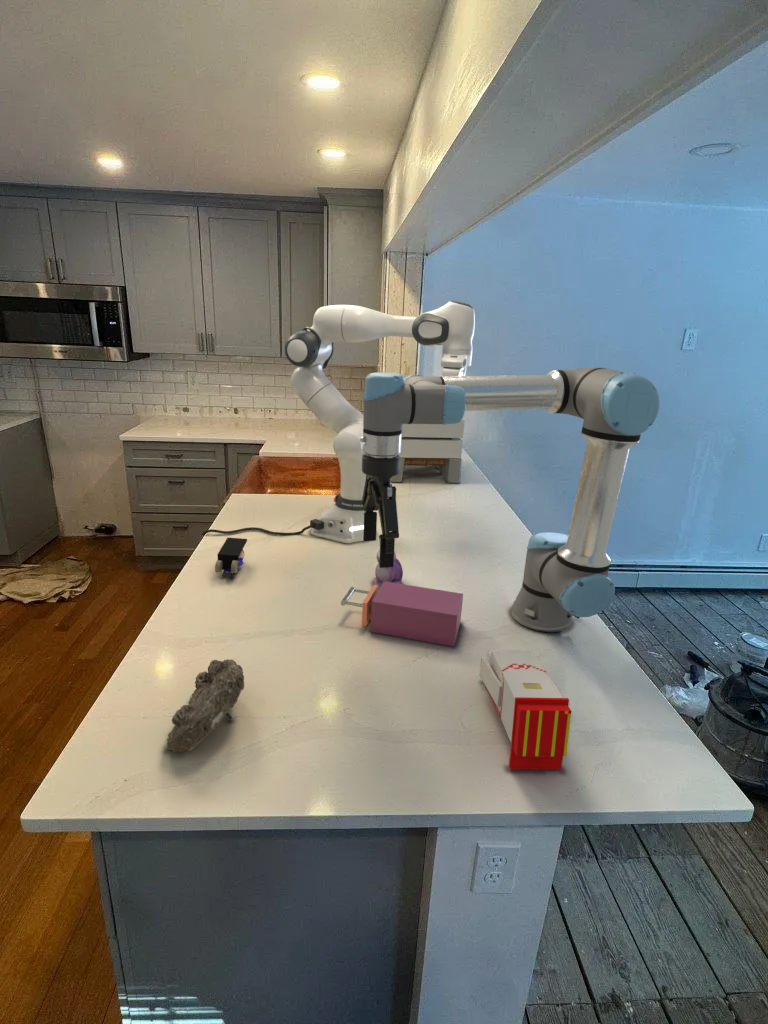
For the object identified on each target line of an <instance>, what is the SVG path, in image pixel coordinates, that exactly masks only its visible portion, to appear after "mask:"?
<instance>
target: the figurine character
mask: <svg viewBox="0 0 768 1024" xmlns="http://www.w3.org/2000/svg"><path fill="white" fill-rule="evenodd" d="M247 542H248V538H240V537H226V539H225V541H224V543H223V544H222V546H221V547H220V549H219V551H218V552H217V560H216V562H215V564H214V572H215V573H221V577H222V578H224V577H225V576H226V574H227V573H230V574H231V573H232V574H231V578H234V577H235V575H236V573H237V572H239V571H240V567H242V566H243V565H244V564H245V562H244V558H245V551H244V547H245V546H246V544H247Z"/></svg>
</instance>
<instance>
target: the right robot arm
mask: <svg viewBox="0 0 768 1024" xmlns="http://www.w3.org/2000/svg"><path fill="white" fill-rule="evenodd" d="M362 398H363V410H362V411H363V413H362V414H363V437H362V438H360V442H363V452H364V454H363V455H362V472H363V473H364V474H366V480H365V486H364V492H363V497H362V502H361V504H362V506H364V507H363V510H364V511H366V512H364V532H363V540H364V541H363V542H375V541H377V529H378V527H377V525H378V523H377V522H378V516H379V523H380V530H381V534H379V536H378V540H379V539H380V547H379V548H380V561H379V562H378V563H379V567H380V568H386V567H393V565H394V551H395V545H396V544H395V541H396V539H399V538H400V531H399V521H398V520H399V519H398V518H399V517H398V508H397V487H396V486H395V485H394V486H393V484H392V483H391V480H390V478H391V477H393V476H396V475H398V474H399V472H400V456H399V455H398V454H399V453H400V452H401V441H402V424H443V425H446V424H457V423H459V422H460V421H461V420H462V419H464V417H465V413H466V412H481V411H482V412H483V411H485V412H487V411H489V412H490V411H524V410H525V411H527V410H529V411H531V410H545V411H546V412H547V413H548V414H551V415H553V414H564V415H569V416H573V417H577V418H580V419H583V423H582V427H581V432H580V433H581V435H582V437H583V438H584V440H585V442H586V445H585V451H584V455H583V460H582V464H581V470H580V475H579V480H578V484H577V490H576V493H575V499H574V503H573V508H572V514H571V518H570V523H569V527H568V533H567V534H564V533H558V532H539V533H534V534H533V535H531V536H530V537H529V539H528V543H527V545H526V546H527V547H526V557H525V562H524V569H523V576H522V577H523V578H522V585H521V588H520V590H519V591H518V593H517V595H516V597H515V600H514V601H513V603H512V606H511V617H512V618H513V619H514V620H515V621H516V622H517V623H518V624H520V625H521V626H523V627H525V628H527V629H530V630H533V631H537V632H544V633H559V632H563V631H566V630H567V629H569V628H570V626H571V625H572V620H573V617H574V618H576V619H580V618H590V617H594V616H596V615H598V614H599V613H601V612H602V611H604V610H605V609H606V608H608V607H609V605H610V604H611V603H612V601H613V599H614V596H615V594H616V593H615V592H616V588H615V587H616V586H615V584H614V583H613V580H612V579H611V577H609V576H608V575H609V572H610V567H611V561H612V560H611V558H610V556H609V555H608V553H607V548H608V543H609V539H610V535H611V531H612V527H613V522H614V517H615V514H616V510H617V505H618V501H619V496H620V492H621V487H622V482H623V479H624V474H625V470H626V466H627V461H628V457H629V452H630V449H631V448H633V446H636V445H637V444H639V443H640V440H641V437H642V436H641V435H642V434H643V433H645V432H647V431H648V430H649V429H650V428H649V427H650V426H653V425H654V424H655V422H656V421H657V417H658V416H659V412H660V407H661V400H660V395H659V391H658V390H657V388H656V387H655V385H654V383H653V382H652V381H651V380H649V379H648V378H647V377H646V376H645V377H644V376H643V375H640V374H637V373H635V372H630V371H624V370H617V369H611V368H608V367H607V368H606V367H603V366H601V367H600V366H591V367H582V368H569V369H552V370H550V371H549V372H547V374H522V375H521V374H519V375H516V374H515V375H513V374H512V375H465V376H423V375H420V374H410V375H406V376H405V377H404V375H403V374H401V373H399V372H388V371H387V372H385V371H384V372H382V371H377V372H371V373H368V374H367V375H366V377H365V379H364V391H363V396H362Z"/></svg>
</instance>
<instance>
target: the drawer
mask: <svg viewBox="0 0 768 1024" xmlns="http://www.w3.org/2000/svg"><path fill="white" fill-rule="evenodd" d="M378 591H379V589H378V585H375V583H374V584H373V585H372V587H371V588H370V590H364V589H357V588H356V587H354V586H351V587H350V588H349V589H348V591H347V592H346V593H345V594H344V596H343V598H342V600H341V601H340V605H341V606H343V607H345V606H352V607H353V606H354V607H357V608H358V607H359V608H361V609H362V610H361V611H362V612H361V626H364V627H365V626H366V627H367V626H368V624H369V622H370V621H371V614H372V601H373V599H374V597H375V596H376V594H377V592H378ZM354 593H359V594H366V596H365V598H364V599H363V601H362V603H360V602H359V603H358V602H351V601H349V600H350V599H351V597H352V596H353V594H354Z"/></svg>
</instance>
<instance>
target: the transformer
mask: <svg viewBox="0 0 768 1024" xmlns="http://www.w3.org/2000/svg"><path fill="white" fill-rule="evenodd" d="M464 429H465V419H464V418H462V420H461V421H460V422H459V423H457V424H446V425H443V424H402V441H401V452H400V453H399V454H398V455H399V456H400V472H399V474H398V475H396V476H393V477H391V478H390V483H402V482H403V475H404V469H405V466H406V467H407V466H411V467H412V466H413V467H415V466H416V467H417V466H418V467H436V468H437V470H438V469H439V473H440V474H441V475H443V478H444V479H445V481H446V482H447V483H449V484H455V483H456V484H459V483H461V472H462V461H463V460H462V453H463V442H464V441H463V440H462V439H463V438H464V431H465V430H464Z"/></svg>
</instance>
